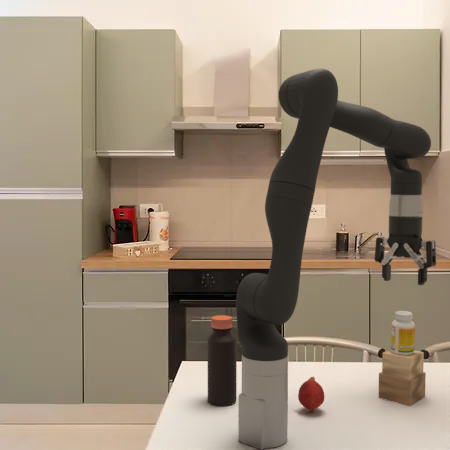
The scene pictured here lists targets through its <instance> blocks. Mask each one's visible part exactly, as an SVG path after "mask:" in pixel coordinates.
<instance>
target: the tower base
mask: <svg viewBox="0 0 450 450" xmlns="http://www.w3.org/2000/svg"><path fill="white" fill-rule="evenodd" d="M426 375H427V374H426V372H424V371H423V373H422V374H420V375H418V376H417V377H415V378H413V379H411V380H407V379H403V378H399V377H395V376H391V375H387V374H383V373H382V371H381V372H379V373H378V397H379V399H382V400H385V399H386V401H390V402H393V403H396V402H397V404H401V405H404V406H408V407H412V406H413V405H415V404H416V403H418V402H419V401H422V400H423V399H424V398H425V397H426Z"/></svg>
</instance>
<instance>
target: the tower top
mask: <svg viewBox="0 0 450 450" xmlns="http://www.w3.org/2000/svg"><path fill="white" fill-rule="evenodd" d="M424 356H425V354H424V351H419V350H414V353H413V354H411V355H398V354H395V353H393V352H392V351H391V348H390V349H388V350H386V351H383V352H382V367H381V368H382V370H381V372H382V373H383V374H387V375H391V376H395V377H399V378H403V379H407V380H411V379H413V378H415V377H417V376H418V375H420V374H422V373H423V372H424V361H425V360H424V359H425V357H424Z"/></svg>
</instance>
